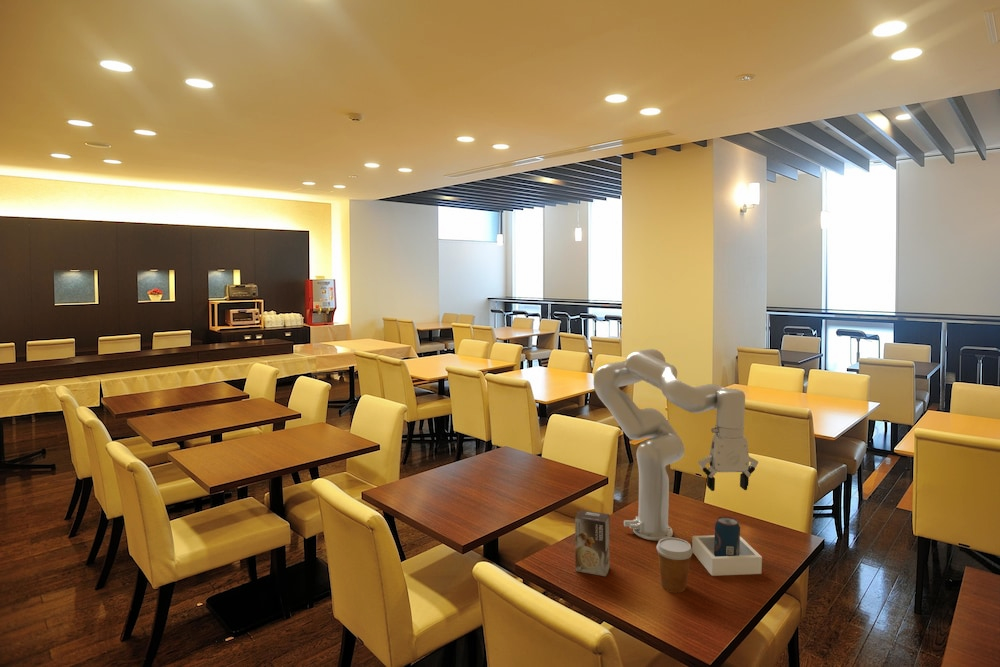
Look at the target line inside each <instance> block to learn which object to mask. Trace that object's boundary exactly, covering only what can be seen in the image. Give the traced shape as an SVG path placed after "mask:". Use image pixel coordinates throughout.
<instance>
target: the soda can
mask: <svg viewBox="0 0 1000 667" xmlns="http://www.w3.org/2000/svg"><path fill="white" fill-rule="evenodd" d="M716 519H717V520H716V522H715V523H714V535H715V540H714V555H715V557H718V556H739V549H740V536H741V527H740V524H739V521H738V520H737V519H736V518H733V517H732V516H730V517H729V516H719V517H718V518H716Z"/></svg>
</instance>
